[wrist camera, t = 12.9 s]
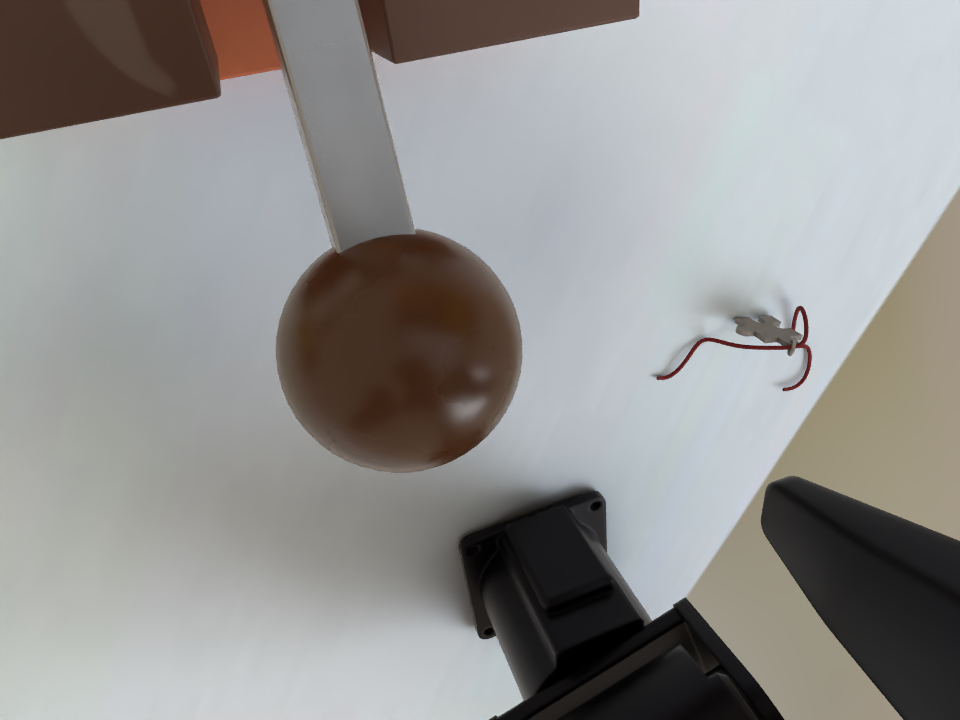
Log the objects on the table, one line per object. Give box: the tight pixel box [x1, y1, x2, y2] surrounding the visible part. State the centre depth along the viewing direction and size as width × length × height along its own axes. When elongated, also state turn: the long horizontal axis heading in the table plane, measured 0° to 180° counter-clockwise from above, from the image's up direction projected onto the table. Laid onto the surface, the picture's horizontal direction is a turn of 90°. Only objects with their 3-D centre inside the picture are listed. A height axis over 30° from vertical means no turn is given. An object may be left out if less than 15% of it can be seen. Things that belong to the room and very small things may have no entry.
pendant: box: [657, 306, 812, 391], centre depth 26 cm, size 8×4×3 cm, turn 84°
